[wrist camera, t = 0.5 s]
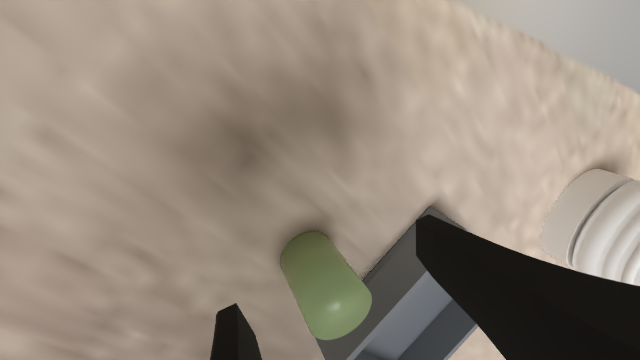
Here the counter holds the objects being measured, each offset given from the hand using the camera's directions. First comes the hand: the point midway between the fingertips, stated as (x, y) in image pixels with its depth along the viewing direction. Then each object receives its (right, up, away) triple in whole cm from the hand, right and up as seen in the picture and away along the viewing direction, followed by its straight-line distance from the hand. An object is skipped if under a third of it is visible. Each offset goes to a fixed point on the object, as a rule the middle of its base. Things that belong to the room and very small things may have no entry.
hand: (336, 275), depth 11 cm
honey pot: (+33, -1, +29) cm, 44 cm away
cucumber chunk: (-2, -2, +12) cm, 13 cm away
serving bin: (+9, -9, +20) cm, 23 cm away
